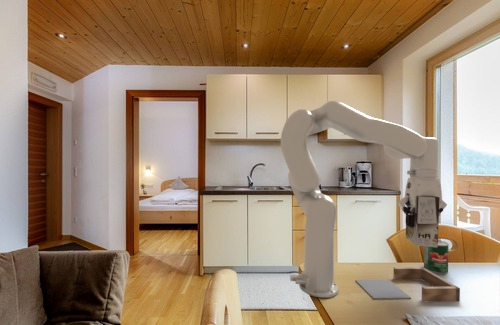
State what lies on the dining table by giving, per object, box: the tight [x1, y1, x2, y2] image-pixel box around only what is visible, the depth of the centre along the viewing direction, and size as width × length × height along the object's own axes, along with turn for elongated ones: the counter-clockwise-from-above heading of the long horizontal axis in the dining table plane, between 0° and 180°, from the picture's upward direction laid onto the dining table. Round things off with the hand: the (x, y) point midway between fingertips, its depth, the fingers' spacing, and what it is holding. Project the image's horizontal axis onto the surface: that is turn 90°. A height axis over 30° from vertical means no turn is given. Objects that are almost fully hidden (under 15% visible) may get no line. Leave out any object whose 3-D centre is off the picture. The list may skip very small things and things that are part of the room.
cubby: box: [392, 266, 461, 303], centre depth 84 cm, size 11×15×4 cm
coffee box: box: [405, 196, 440, 248], centre depth 84 cm, size 9×6×16 cm
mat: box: [354, 279, 412, 300], centre depth 84 cm, size 12×12×1 cm
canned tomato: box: [423, 239, 450, 275], centre depth 100 cm, size 8×8×11 cm
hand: (421, 226), depth 84 cm, fingers closed on coffee box, 7 cm apart
